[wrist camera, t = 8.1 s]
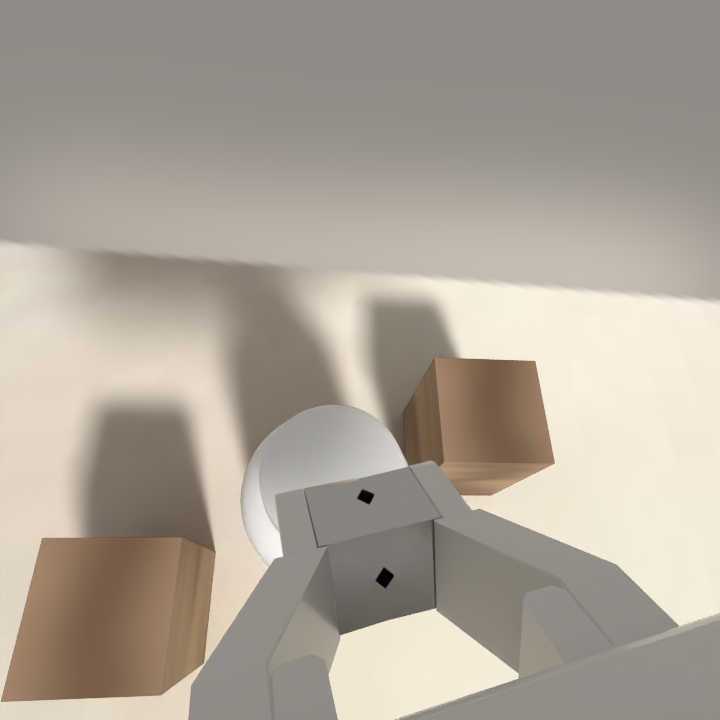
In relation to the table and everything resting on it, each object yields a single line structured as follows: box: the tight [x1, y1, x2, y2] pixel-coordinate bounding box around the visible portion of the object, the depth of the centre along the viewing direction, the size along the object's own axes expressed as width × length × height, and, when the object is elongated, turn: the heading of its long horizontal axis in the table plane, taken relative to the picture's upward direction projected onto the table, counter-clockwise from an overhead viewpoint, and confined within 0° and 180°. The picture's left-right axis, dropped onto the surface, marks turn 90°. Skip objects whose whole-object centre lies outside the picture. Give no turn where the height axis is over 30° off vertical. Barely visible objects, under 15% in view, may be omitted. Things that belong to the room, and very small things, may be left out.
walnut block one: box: [1, 537, 216, 702], centre depth 21 cm, size 5×5×8 cm
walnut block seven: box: [403, 358, 555, 495], centre depth 26 cm, size 5×5×8 cm
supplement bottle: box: [241, 405, 408, 566], centre depth 21 cm, size 7×7×13 cm
